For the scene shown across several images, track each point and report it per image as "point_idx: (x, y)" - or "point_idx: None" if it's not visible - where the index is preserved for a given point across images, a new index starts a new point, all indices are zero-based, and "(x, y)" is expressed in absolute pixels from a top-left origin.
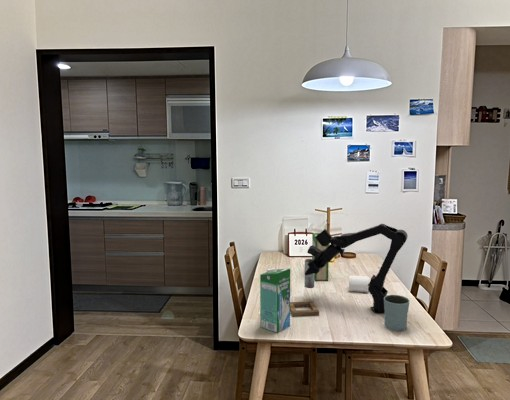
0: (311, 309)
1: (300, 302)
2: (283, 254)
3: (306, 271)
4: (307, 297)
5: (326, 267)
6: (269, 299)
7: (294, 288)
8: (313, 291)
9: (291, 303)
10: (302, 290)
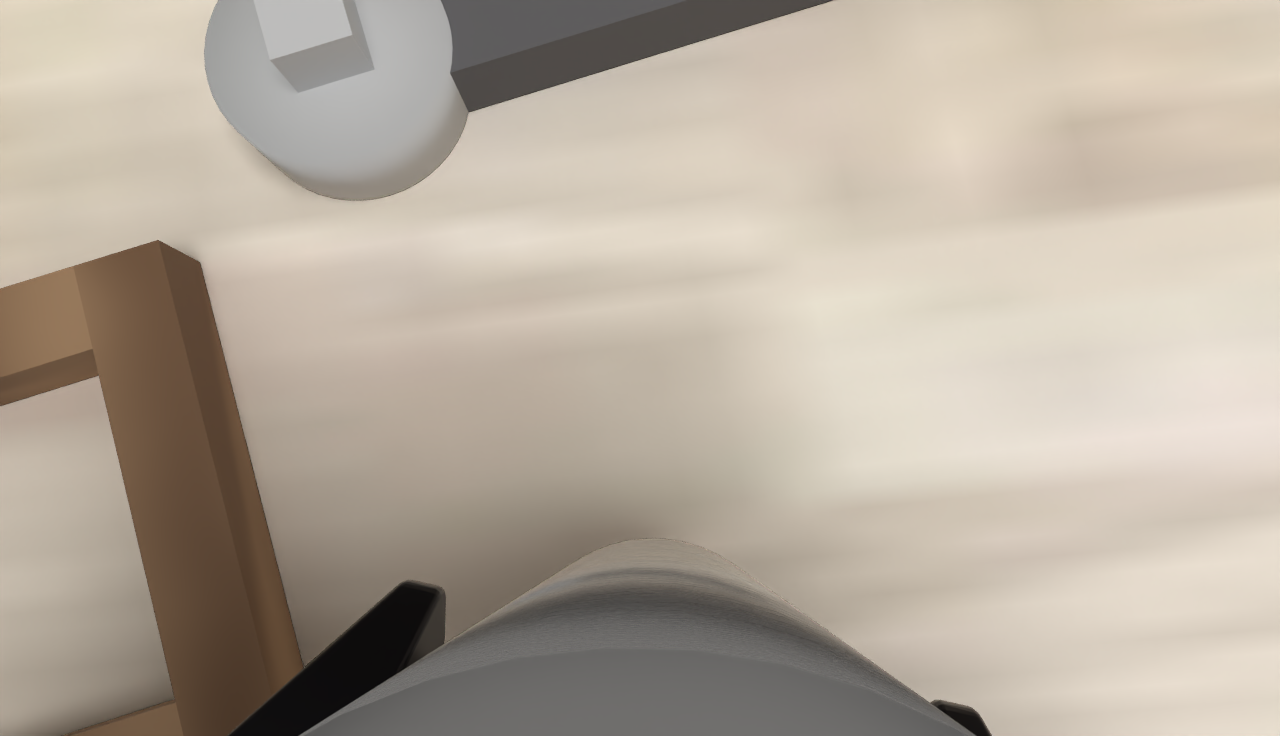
0: (70, 733)
1: (179, 493)
2: None
3: (246, 723)
4: None
5: None
6: None
7: (1225, 252)
8: (1155, 688)
9: (102, 314)
10: (1149, 436)
